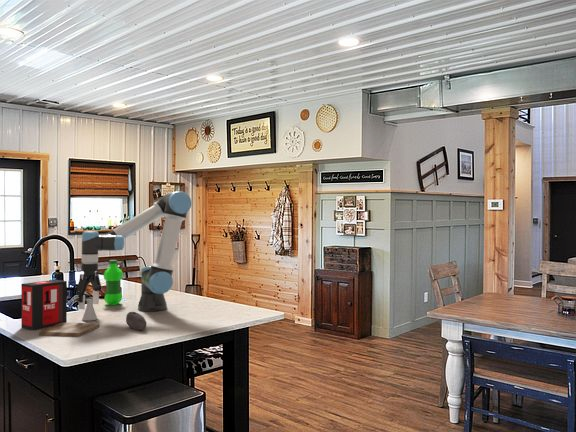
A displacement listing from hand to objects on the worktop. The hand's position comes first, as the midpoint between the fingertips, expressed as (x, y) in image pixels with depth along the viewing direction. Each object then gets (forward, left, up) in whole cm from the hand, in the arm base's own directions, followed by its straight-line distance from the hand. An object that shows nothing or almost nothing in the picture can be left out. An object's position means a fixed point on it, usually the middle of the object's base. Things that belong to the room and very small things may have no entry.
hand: (88, 306), depth 245 cm
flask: (0, 0, -7) cm, 7 cm away
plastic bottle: (+7, -40, -7) cm, 41 cm away
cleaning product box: (+14, +15, -7) cm, 21 cm away
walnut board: (-3, +23, -6) cm, 24 cm away
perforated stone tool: (-31, +16, -7) cm, 36 cm away
